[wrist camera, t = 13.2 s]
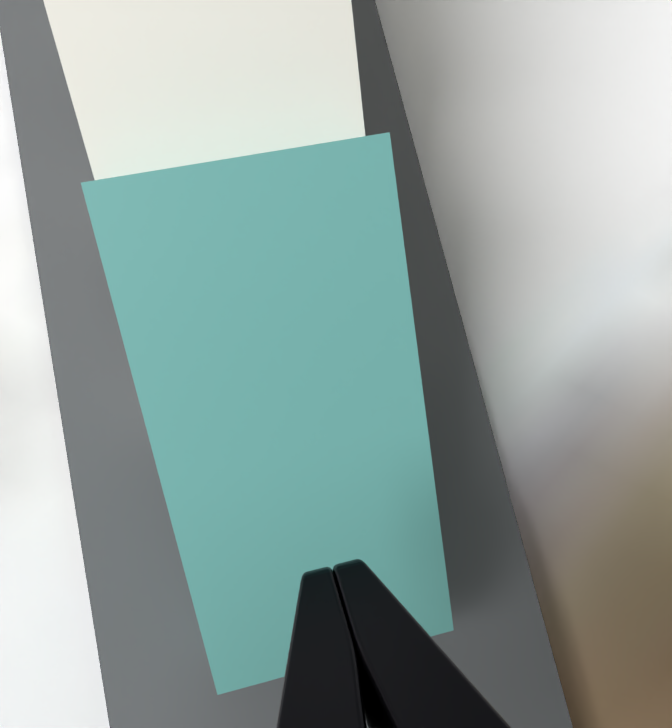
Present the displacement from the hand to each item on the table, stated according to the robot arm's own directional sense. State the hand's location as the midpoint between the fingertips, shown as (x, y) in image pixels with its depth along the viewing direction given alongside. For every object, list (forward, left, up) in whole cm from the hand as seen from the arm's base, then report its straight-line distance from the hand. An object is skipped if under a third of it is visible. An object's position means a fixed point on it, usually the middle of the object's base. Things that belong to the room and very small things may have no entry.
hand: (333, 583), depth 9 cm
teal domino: (-2, +1, -6) cm, 6 cm away
